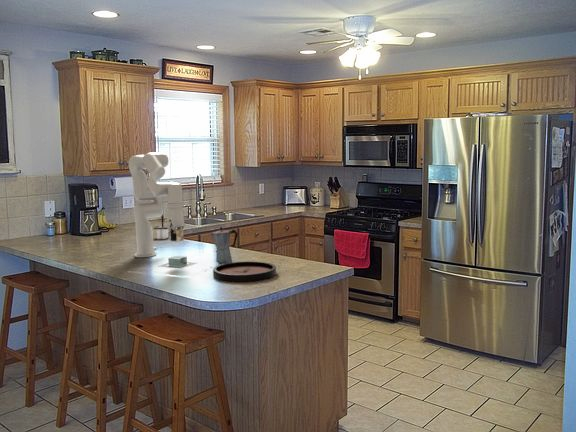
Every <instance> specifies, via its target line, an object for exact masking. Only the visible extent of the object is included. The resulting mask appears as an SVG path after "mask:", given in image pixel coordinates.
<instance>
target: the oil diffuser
mask: <svg viewBox="0 0 576 432" xmlns="http://www.w3.org/2000/svg"><path fill="white" fill-rule="evenodd" d="M153 230H156V239H157V240H166V239H168V238H169V230H168V229H167V225H164V214H162V216H161V225H157V226H155V227H153Z"/></svg>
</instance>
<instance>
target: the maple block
mask: <svg viewBox="0 0 576 432" xmlns="http://www.w3.org/2000/svg"><path fill="white" fill-rule="evenodd" d="M173 230H174V229H173ZM175 233H176V241H173V242H176V243H177V242H183V241H184V228H183V229H177V228H176V231H175ZM169 239H170V240H169V241H170V242H172V241H171V233H170V232H169Z"/></svg>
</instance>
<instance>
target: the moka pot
mask: <svg viewBox="0 0 576 432" xmlns="http://www.w3.org/2000/svg"><path fill="white" fill-rule="evenodd" d="M233 234H235V235H234V239H233V244H231V245H230V243H231V242H230V241H231V235H233ZM238 235H239V234H238V232H237V230H235V229H232V230H225V229H223V227H222V226H220V227H219V230H217V231H213V232H210V234H209V236H211V238H212V239H213V242H214V246H215V247H216V248H215V249H216V251H215V253H216V258H215V262H217V263H218V265H221V264H226V263H232V262H233V259H232V254H231V250H230V249H231V248H230V247H235V246H236V243H237V238H238Z"/></svg>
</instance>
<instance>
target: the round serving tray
mask: <svg viewBox="0 0 576 432" xmlns="http://www.w3.org/2000/svg"><path fill="white" fill-rule="evenodd" d="M212 275H213V276H212V277H213V279H215V280H217V281H219V282H225V283H238V284H239V283H241V284H243V283H256V282H262V281H268V280H271V279H273V278H275V277H276V276H277V266H276V265H275V264H272V263H270V262H264V261H254V260H253V261H249V260H248V261H232V262H231V263H226V264H218V265H216V266H214V268H213V269H212Z"/></svg>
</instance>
